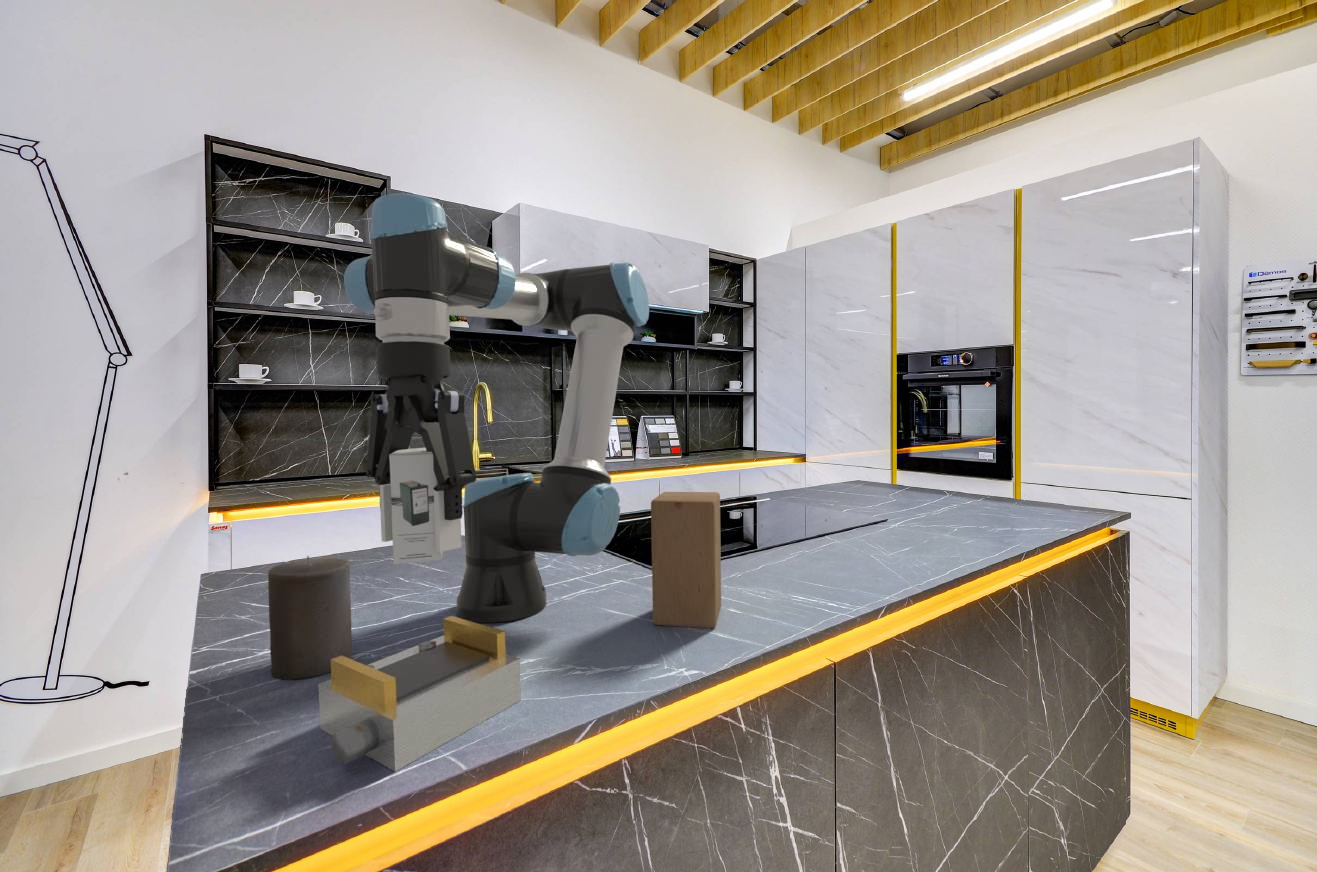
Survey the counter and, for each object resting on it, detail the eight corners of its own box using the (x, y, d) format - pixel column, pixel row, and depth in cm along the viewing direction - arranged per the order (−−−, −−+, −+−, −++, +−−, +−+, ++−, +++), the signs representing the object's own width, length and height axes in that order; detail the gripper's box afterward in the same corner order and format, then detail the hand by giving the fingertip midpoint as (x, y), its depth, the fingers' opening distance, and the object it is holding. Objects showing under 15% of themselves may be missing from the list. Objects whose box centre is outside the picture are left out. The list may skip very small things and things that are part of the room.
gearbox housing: (290, 742, 60) (286, 667, 60) (446, 671, 76) (444, 612, 76) (364, 789, 52) (360, 703, 52) (520, 699, 68) (519, 633, 68)
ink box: (400, 547, 68) (396, 447, 67) (444, 543, 69) (441, 446, 69) (391, 565, 60) (387, 452, 59) (442, 560, 61) (438, 450, 61)
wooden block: (715, 629, 89) (713, 501, 88) (652, 625, 91) (650, 500, 90) (721, 607, 99) (720, 491, 98) (664, 604, 101) (662, 491, 100)
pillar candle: (263, 686, 73) (259, 568, 72) (278, 656, 82) (275, 551, 81) (350, 672, 77) (347, 560, 76) (356, 644, 86) (353, 545, 85)
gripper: (326, 347, 66) (334, 539, 67) (447, 330, 54) (455, 564, 55) (387, 352, 73) (394, 528, 74) (508, 338, 61) (514, 548, 62)
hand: (420, 543), depth 65 cm, fingers closed on ink box, 9 cm apart
